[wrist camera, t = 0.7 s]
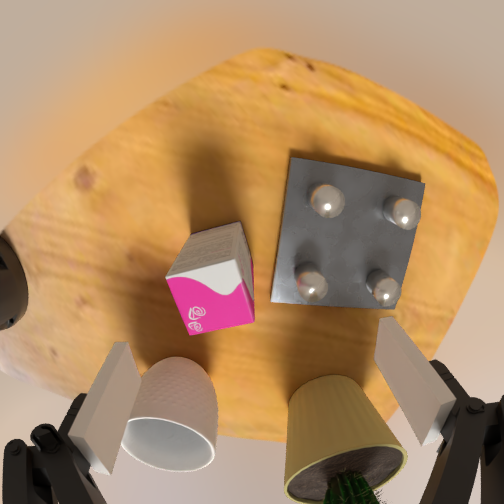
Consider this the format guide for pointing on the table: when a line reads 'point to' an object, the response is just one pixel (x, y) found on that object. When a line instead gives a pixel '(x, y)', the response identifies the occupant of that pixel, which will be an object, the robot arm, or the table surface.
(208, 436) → the mug
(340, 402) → the potted cactus
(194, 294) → the supplement box
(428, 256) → the table surface
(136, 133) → the table surface
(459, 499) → the robot arm
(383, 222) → the chassis
